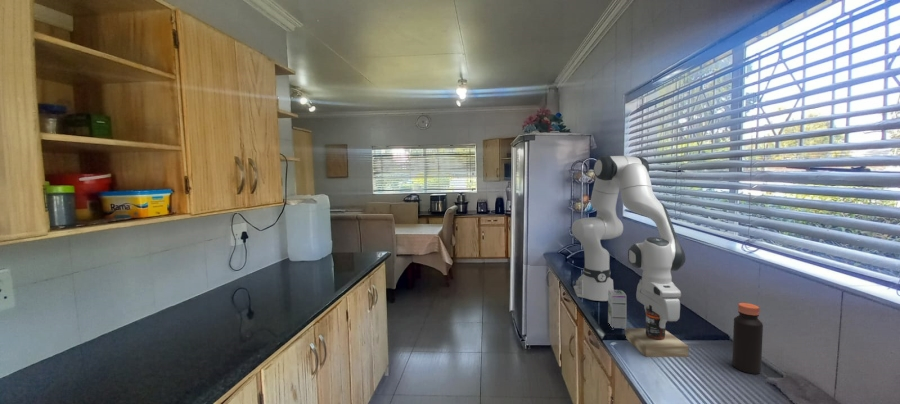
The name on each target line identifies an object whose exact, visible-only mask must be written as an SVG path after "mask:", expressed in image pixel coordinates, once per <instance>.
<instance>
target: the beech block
mask: <svg viewBox="0 0 900 404" xmlns="http://www.w3.org/2000/svg"><path fill="white" fill-rule="evenodd" d="M624 331H625V335H624V336H626V338H625V339H626V340H627V341H628V342H629V343H630V344H632V346H634V347H635V348H636V349H637V350H638V351H639V352H640V353H641V354H643V356H645V358H689V356H690V353H689V352H690V351H689V350H690V346H689V345H688V344H686V343H685V342H683V341H682V340H680V339H679V338H677V337H676V336H675V335H673V334H672V333H670V331H668V330H666V329H665V338H664V339H653V338H650V337H648V336H647V335H646V327H645V328H639V327H638V328H633V327H632V328H631V327H630V328H628V327H626V328H625V330H624Z"/></svg>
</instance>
